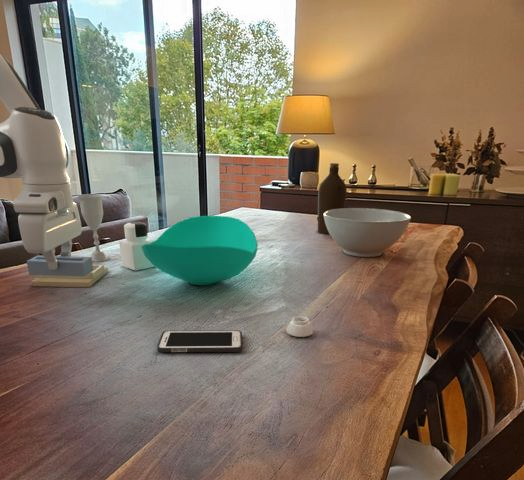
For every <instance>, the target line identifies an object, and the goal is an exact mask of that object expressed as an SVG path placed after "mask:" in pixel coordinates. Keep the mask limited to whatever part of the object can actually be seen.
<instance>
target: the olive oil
mask: <svg viewBox="0 0 524 480" xmlns="http://www.w3.org/2000/svg"><path fill="white" fill-rule="evenodd" d="M339 165H340V164H339V163H338V162H330V164H329V173H328V175H327V176H326V177H325V178H324V179H323V180H322V181H321V183H320V184H319V187H318V193H317V217H316V220H317V233H319V234H323V235H324V234H325V235H330V234H329V232H328V229H327V227H326V224H325V220H324V212H325V211H328V210H332V209H341V208H345V207H346V199H347V191H348V190H347V185H346V183H345V181H344V180H343V178H341V176H340V174H339V170H340V167H339Z"/></svg>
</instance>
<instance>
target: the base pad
mask: <svg viewBox="0 0 524 480" xmlns="http://www.w3.org/2000/svg"><path fill="white" fill-rule="evenodd" d="M108 272H109V269H108V266H107V267H106V266H105V264H93V271H92V272H90V273H89V274H88V275H86V276H85V277H83V276H51V275H36V276H37V277H36V278H35V279H33V280H31V286H32V287H56V288H57V287H60V288H61V287H62V288H65V287H66V288H90V287H91V286H93V285H94V284H95V283H96V282H98V281H99V280H100V279H101V278H102V277H103V276H105V275H106V274H107V273H108Z"/></svg>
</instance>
